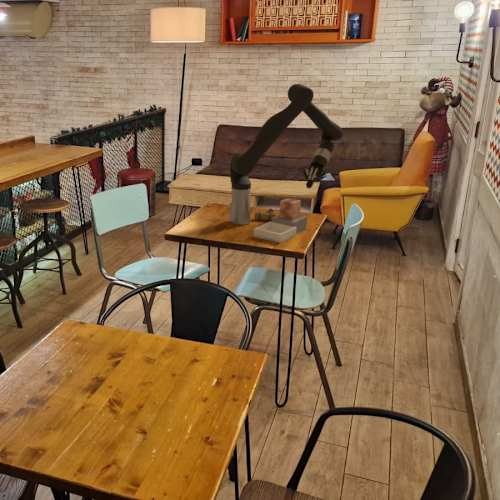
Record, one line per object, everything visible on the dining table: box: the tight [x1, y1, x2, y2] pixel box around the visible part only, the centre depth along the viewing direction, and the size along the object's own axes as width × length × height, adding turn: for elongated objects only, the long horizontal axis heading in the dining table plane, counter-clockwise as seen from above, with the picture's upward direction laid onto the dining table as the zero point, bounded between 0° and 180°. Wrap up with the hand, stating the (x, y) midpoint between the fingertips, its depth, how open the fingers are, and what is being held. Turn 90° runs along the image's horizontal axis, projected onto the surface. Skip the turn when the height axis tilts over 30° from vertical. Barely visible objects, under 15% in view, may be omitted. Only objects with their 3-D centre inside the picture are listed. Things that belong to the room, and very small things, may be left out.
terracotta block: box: [279, 197, 302, 220], centre depth 222 cm, size 7×7×8 cm
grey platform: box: [272, 214, 308, 235], centre depth 224 cm, size 12×12×6 cm
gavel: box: [254, 208, 277, 222], centre depth 245 cm, size 21×5×10 cm
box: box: [253, 221, 297, 244], centre depth 214 cm, size 14×14×4 cm
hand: (308, 187), depth 233 cm, fingers closed
